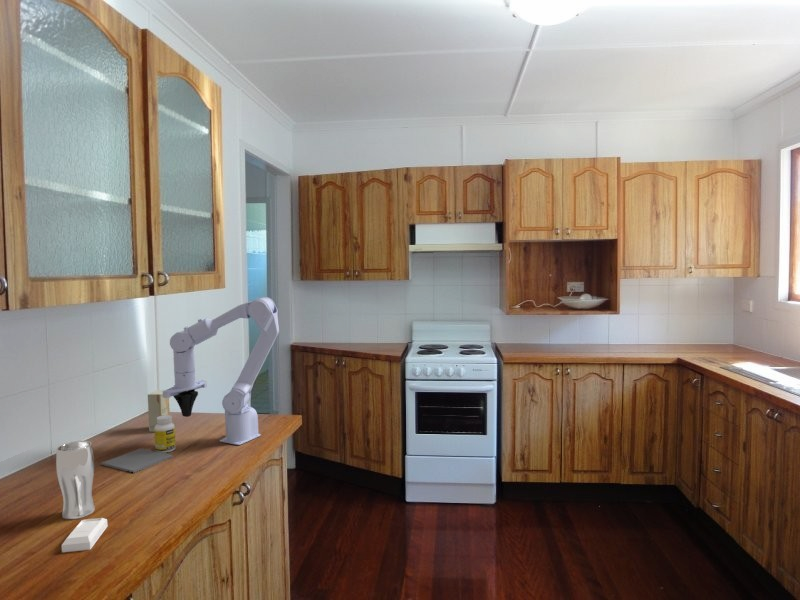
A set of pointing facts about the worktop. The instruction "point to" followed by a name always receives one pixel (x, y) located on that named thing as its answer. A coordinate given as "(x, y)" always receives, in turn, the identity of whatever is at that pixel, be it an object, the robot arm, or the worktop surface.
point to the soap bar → (85, 535)
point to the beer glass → (76, 478)
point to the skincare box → (157, 407)
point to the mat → (137, 460)
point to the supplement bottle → (164, 434)
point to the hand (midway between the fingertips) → (186, 415)
